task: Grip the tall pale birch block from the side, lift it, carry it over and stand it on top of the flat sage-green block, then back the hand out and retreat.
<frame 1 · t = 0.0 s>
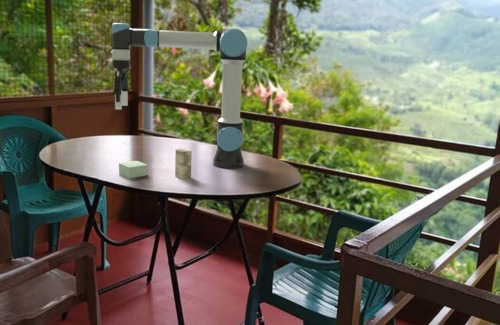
hand: (121, 107, 231), 28 cm above the table, tool pointing down, fingers open, 13 cm apart
birch block: (183, 176, 227), on the table
sage block: (133, 174, 226), on the table
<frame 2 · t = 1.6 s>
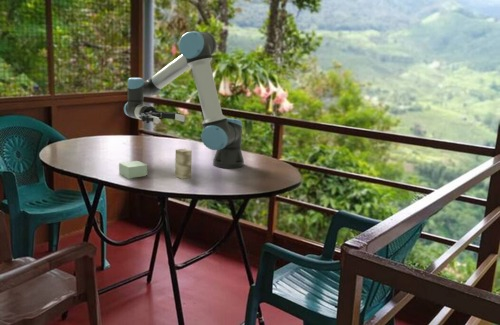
hand: (171, 119, 228), 24 cm above the table, tool horizontal, fingers open, 13 cm apart
nothing on the table moved.
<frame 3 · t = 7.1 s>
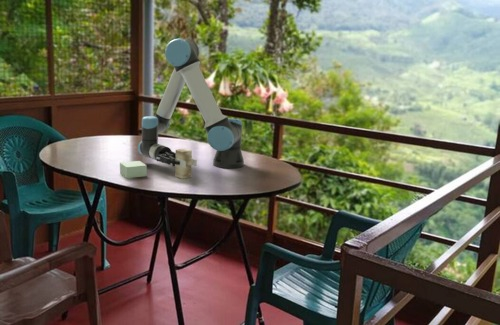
hand: (190, 163, 221), 7 cm above the table, tool horizontal, fingers closed on birch block, 5 cm apart
birch block: (183, 176, 227), on the table, touching gripper
everything else where it was.
when the fingers open (13 cm above the table, at t = 12.9 s): birch block drops 2 cm, point 5 cm above the table.
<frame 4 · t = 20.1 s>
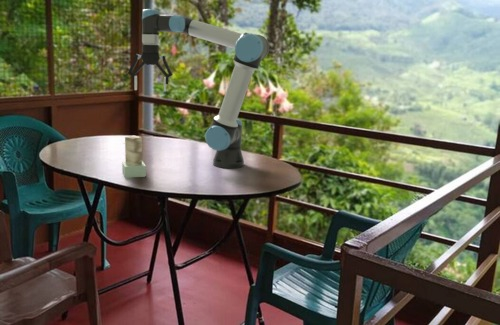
hand: (150, 90, 241), 35 cm above the table, tool pointing down, fingers open, 13 cm apart
birch block: (133, 163, 226), point 5 cm above the table
at the end: birch block 0.2 cm off-centre on the sage block, point 5.1 cm above the sage block's base; birch block tilted 1°; the gripper is holding nothing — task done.
